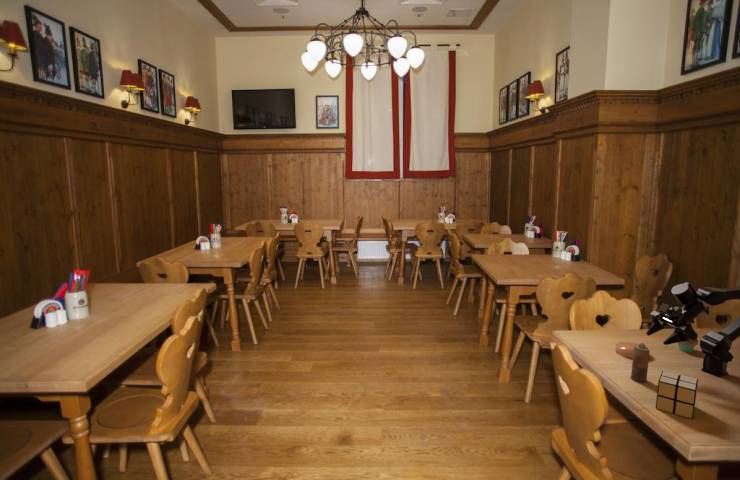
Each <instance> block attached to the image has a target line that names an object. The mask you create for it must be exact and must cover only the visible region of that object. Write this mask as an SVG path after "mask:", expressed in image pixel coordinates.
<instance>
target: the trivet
mask: <svg viewBox="0 0 740 480" xmlns="http://www.w3.org/2000/svg"><path fill="white" fill-rule="evenodd" d="M639 344H640V343H639ZM639 344H638V343H635V342H630V341H628V342H627V341H619V342H617V343H615V350H614V351H615V353H616V354H617V355H619V356H621V357H623V358H626V359H632V360H633V351H634V347H636V346H637V345H639Z"/></svg>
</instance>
